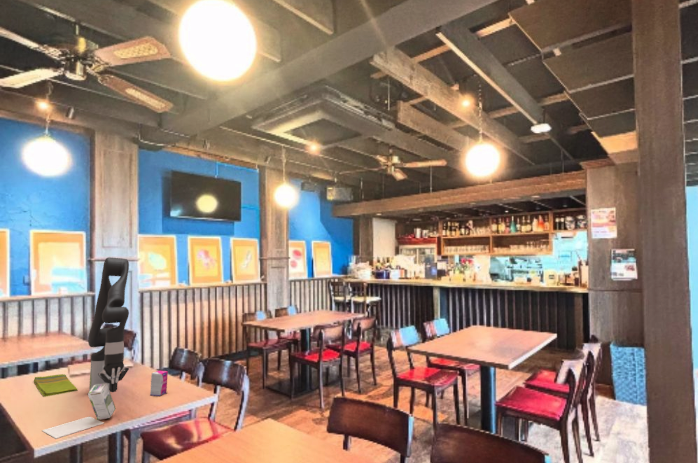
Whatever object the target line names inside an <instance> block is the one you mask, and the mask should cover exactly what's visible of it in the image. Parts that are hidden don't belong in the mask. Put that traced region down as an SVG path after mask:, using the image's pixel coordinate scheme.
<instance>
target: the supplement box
mask: <svg viewBox="0 0 698 463" xmlns="http://www.w3.org/2000/svg"><path fill="white" fill-rule="evenodd" d="M168 374H169V373H168V370H167V371H166V370H156V371H154V372H151V375H150V376H151V379H150V390H149V392H150V393H149V394H150V396H151V397H160V396H163V395H165V394H167V390H168Z"/></svg>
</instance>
